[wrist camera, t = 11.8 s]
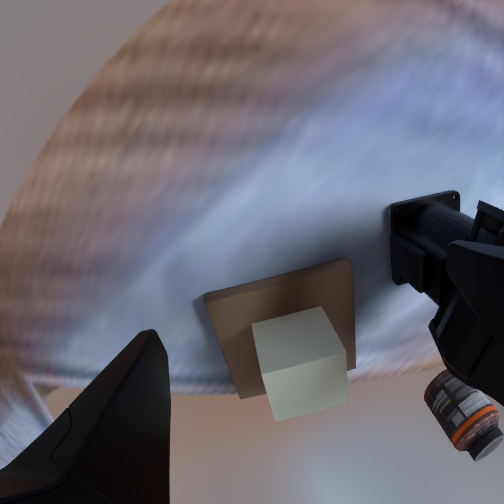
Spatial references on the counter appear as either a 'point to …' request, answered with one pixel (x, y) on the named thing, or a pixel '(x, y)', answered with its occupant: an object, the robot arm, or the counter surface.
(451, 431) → the supplement bottle
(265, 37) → the counter surface
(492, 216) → the robot arm
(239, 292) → the brown square tile
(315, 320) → the cube
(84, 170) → the counter surface
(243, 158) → the counter surface
